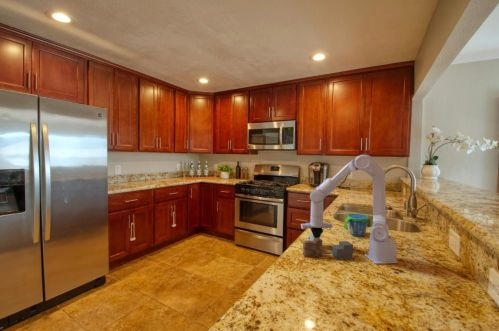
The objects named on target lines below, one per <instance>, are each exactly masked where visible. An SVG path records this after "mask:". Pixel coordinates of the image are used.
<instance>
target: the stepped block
mask: <svg viewBox="0 0 499 331" xmlns="http://www.w3.org/2000/svg"><path fill="white" fill-rule="evenodd" d="M331 246H332V247H331V252H332V253H331V256H333V258H334V259H336V260H353V256H354V255H353V254H354V244H353V243H351V242H350V241H348V240H344V241H343V240H341V241H340V240H339V242H338V244H332V245H331Z"/></svg>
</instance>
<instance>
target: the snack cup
mask: <svg viewBox="0 0 499 331" xmlns="http://www.w3.org/2000/svg"><path fill="white" fill-rule="evenodd" d="M371 222H372V221H371V219H370V217H369V216H368V215H366V214H363V213H362V214H361V213H356V212H355V213H348V214H347V215H346V218H345V220H344V224H343V228H344V229H345V230H346V231H348V230H349V233H350V235H351V236H356V237H363V236H365V235H366V232H367V228H371V227H372V223H371Z"/></svg>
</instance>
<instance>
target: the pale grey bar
mask: <svg viewBox="0 0 499 331" xmlns="http://www.w3.org/2000/svg"><path fill="white" fill-rule="evenodd" d="M307 235H308V236H307V241H314V238H315V237H314V236H313V234H312V233H308V234H307Z"/></svg>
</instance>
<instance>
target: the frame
mask: <svg viewBox="0 0 499 331" xmlns="http://www.w3.org/2000/svg"><path fill="white" fill-rule="evenodd" d="M325 254H326V255H327V254H332V251H323V240H322V239H321V237H320V238H314V241H308V240H302V256H303V257H307V258H308V257H315V258H316V257H323V255H325Z"/></svg>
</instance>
